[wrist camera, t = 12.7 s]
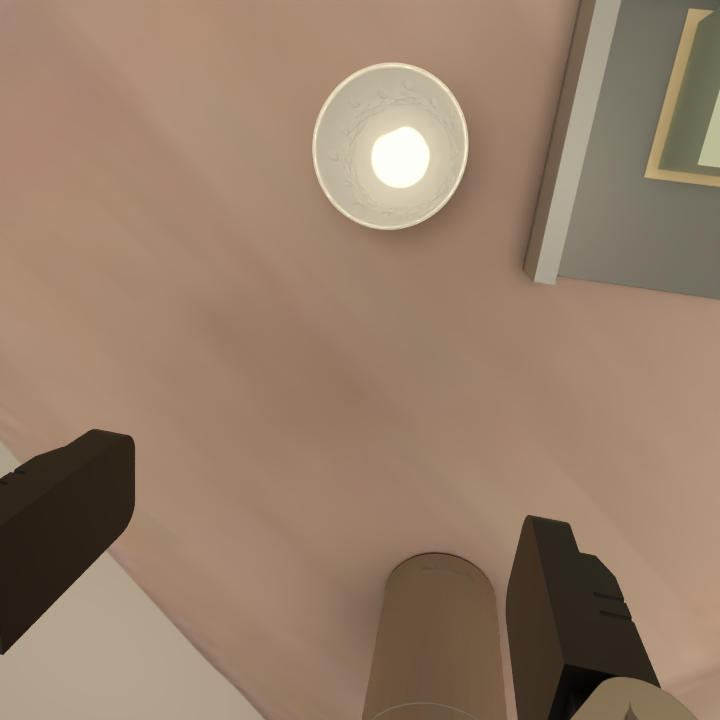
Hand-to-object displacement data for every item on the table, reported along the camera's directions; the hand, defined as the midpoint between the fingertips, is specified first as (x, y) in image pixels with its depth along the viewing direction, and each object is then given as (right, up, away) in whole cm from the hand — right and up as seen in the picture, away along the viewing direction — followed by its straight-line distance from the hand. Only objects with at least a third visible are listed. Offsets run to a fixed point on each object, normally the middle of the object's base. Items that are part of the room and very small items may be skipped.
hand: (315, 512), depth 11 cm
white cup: (+4, +16, +27) cm, 31 cm away
